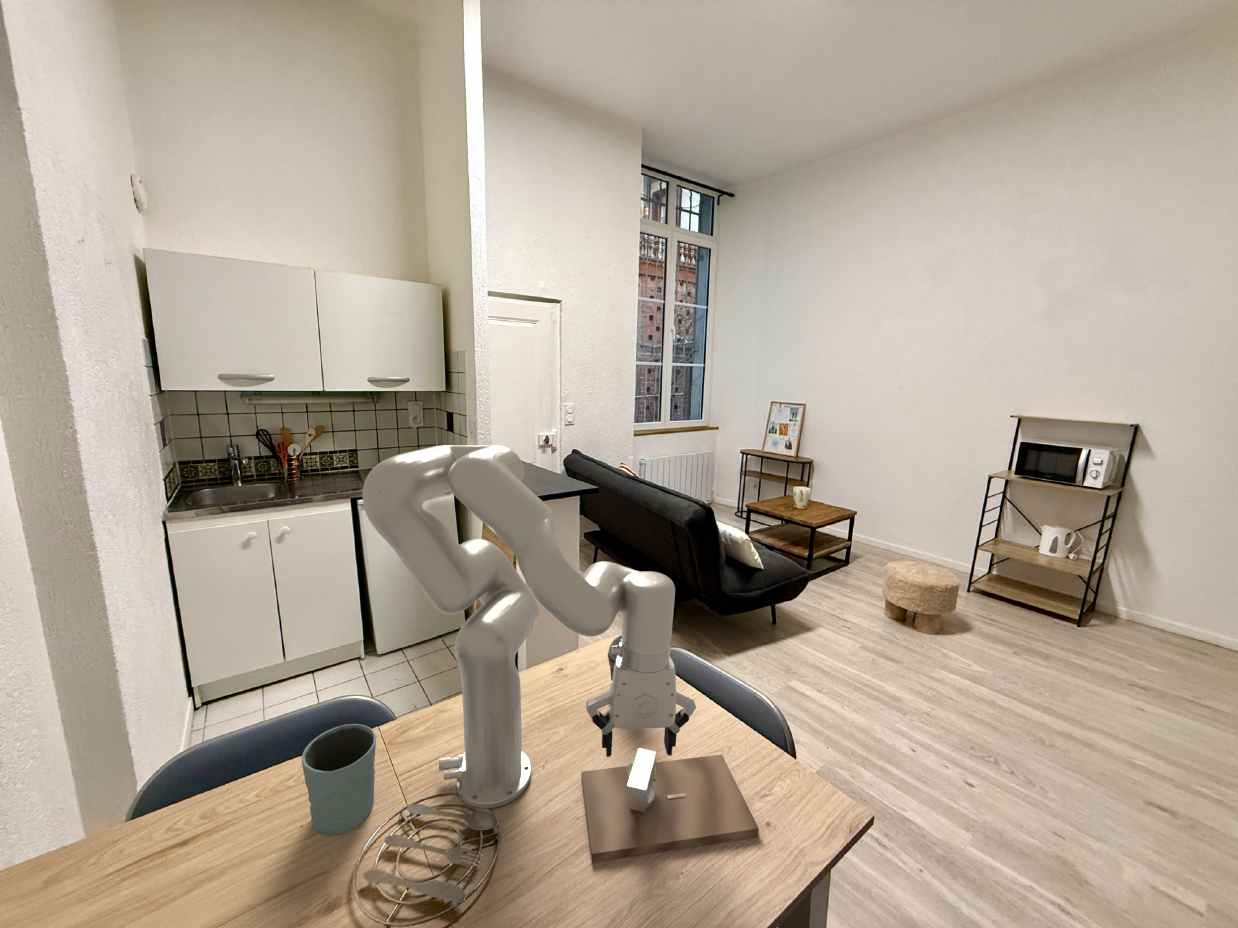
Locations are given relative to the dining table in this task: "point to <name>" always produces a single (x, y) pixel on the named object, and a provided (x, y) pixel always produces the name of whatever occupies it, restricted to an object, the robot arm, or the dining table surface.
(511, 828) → the dining table surface
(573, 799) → the dining table surface
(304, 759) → the blue-grey open cylinder
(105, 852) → the dining table surface
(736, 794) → the board
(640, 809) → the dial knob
